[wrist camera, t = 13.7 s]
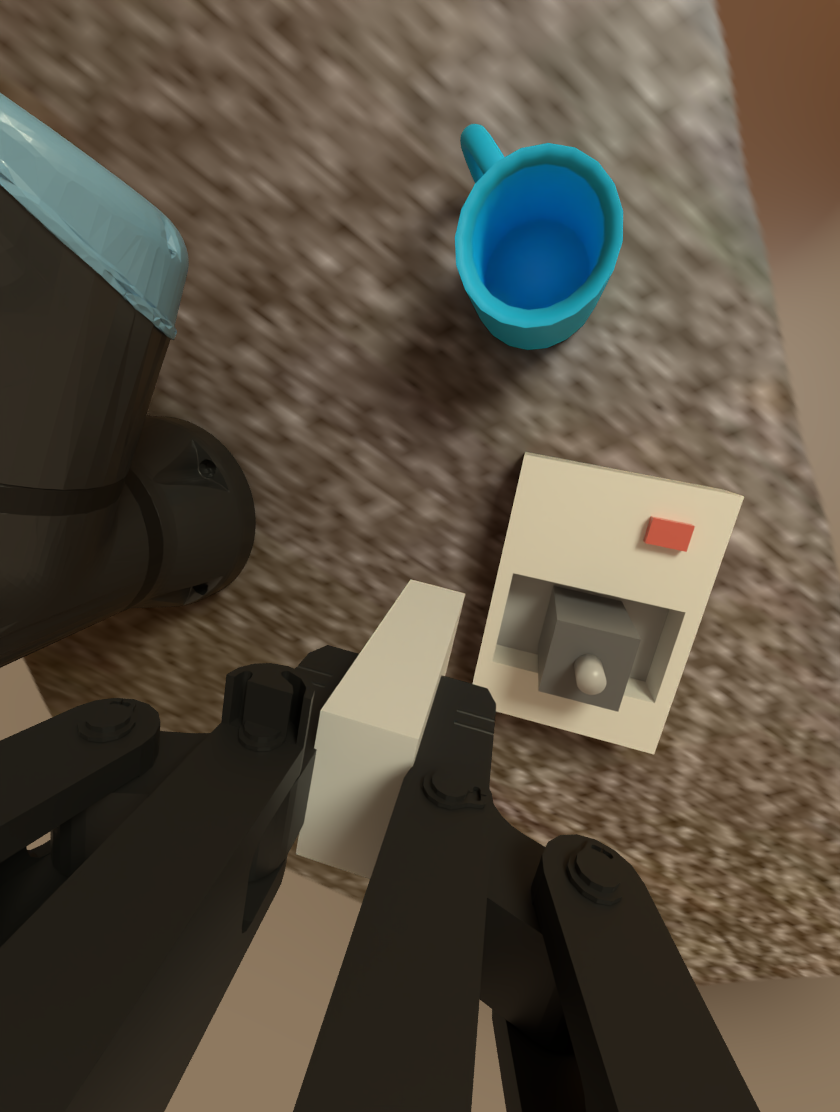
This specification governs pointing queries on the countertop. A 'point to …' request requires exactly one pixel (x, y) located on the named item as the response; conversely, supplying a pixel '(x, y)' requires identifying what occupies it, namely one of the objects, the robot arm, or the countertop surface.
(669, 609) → the socket plate
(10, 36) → the countertop surface
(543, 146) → the mug
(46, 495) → the robot arm
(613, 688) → the plug
